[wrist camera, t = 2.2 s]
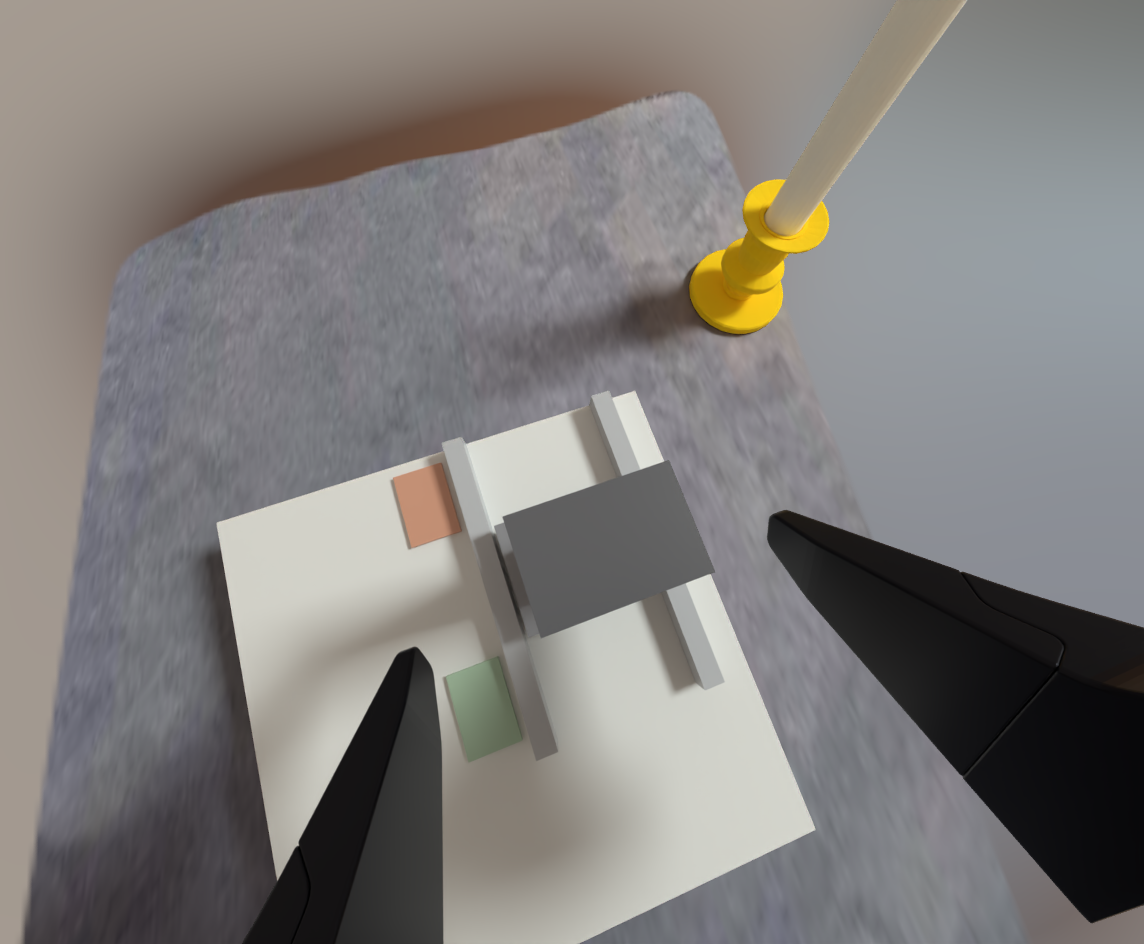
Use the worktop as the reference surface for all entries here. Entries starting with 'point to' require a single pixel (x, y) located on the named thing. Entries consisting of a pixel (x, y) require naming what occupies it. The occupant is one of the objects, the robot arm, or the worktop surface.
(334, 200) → the worktop surface
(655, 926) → the worktop surface
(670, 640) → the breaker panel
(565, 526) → the handle
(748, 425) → the worktop surface
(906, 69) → the candle
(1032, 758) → the robot arm
